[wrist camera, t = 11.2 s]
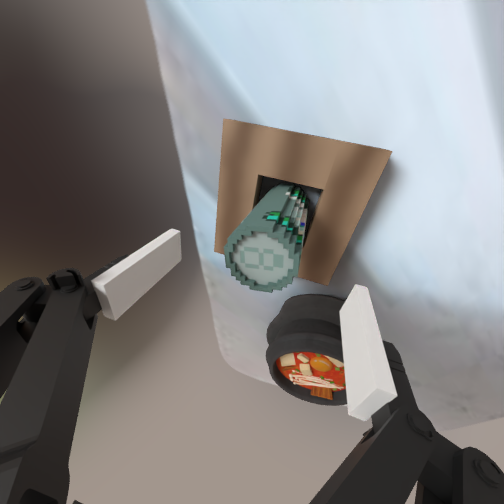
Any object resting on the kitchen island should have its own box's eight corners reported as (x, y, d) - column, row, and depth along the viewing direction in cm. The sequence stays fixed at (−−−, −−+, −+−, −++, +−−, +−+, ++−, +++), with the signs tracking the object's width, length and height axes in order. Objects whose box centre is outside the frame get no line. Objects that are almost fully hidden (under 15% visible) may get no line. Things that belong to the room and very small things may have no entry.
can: (306, 227, 30) (296, 296, 17) (265, 224, 31) (228, 285, 19) (310, 184, 27) (301, 229, 14) (264, 183, 28) (220, 223, 16)
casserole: (354, 384, 44) (361, 432, 37) (269, 363, 49) (260, 402, 42) (386, 295, 31) (405, 342, 24) (267, 279, 36) (255, 314, 29)
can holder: (384, 149, 23) (392, 151, 20) (326, 274, 32) (327, 285, 30) (232, 119, 25) (223, 118, 23) (221, 243, 35) (214, 251, 33)
